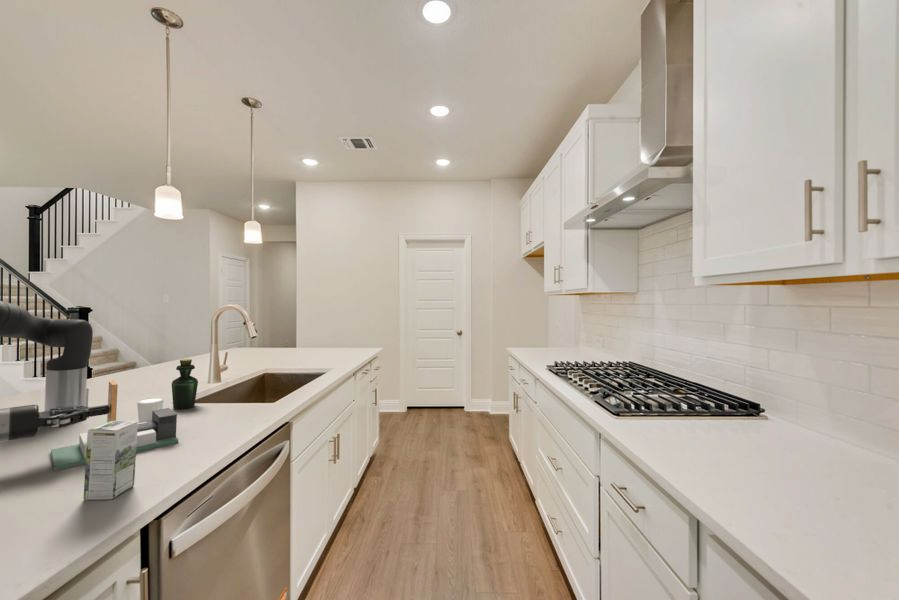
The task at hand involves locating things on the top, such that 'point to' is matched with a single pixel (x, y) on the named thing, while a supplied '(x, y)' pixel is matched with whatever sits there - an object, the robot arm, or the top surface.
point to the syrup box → (110, 460)
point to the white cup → (148, 408)
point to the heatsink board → (77, 458)
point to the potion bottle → (184, 386)
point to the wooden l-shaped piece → (113, 407)
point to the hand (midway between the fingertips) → (108, 409)
